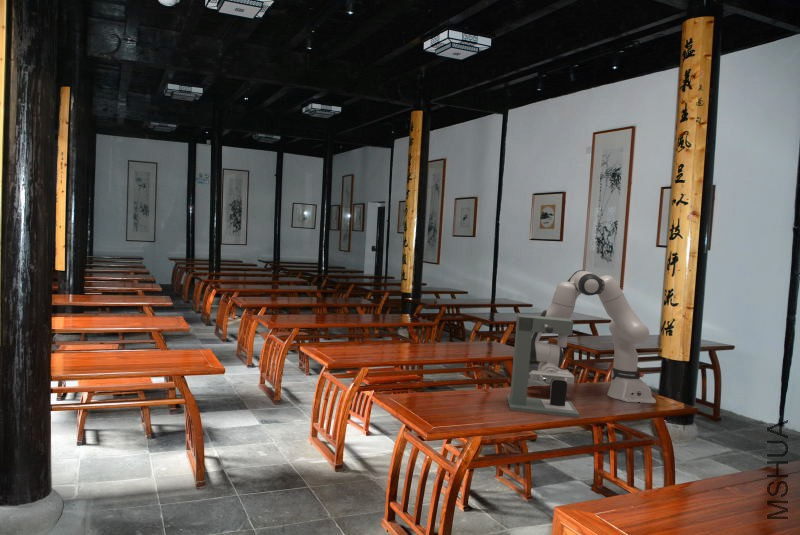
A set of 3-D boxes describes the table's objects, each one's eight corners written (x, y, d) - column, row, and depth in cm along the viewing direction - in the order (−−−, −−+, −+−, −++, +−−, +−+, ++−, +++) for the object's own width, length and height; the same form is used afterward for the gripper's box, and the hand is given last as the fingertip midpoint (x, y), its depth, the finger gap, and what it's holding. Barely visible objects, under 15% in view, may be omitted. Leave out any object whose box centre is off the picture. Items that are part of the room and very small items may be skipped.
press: (570, 404, 270) (578, 318, 268) (582, 422, 242) (591, 326, 241) (506, 398, 273) (514, 312, 271) (511, 415, 245) (519, 320, 243)
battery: (563, 404, 262) (565, 378, 262) (565, 406, 259) (568, 380, 258) (547, 402, 262) (550, 377, 262) (549, 405, 259) (552, 379, 258)
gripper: (528, 366, 287) (532, 372, 273) (571, 370, 285) (577, 376, 271) (527, 378, 287) (531, 385, 274) (570, 382, 285) (576, 389, 271)
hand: (554, 381), depth 272 cm, fingers open, 8 cm apart
